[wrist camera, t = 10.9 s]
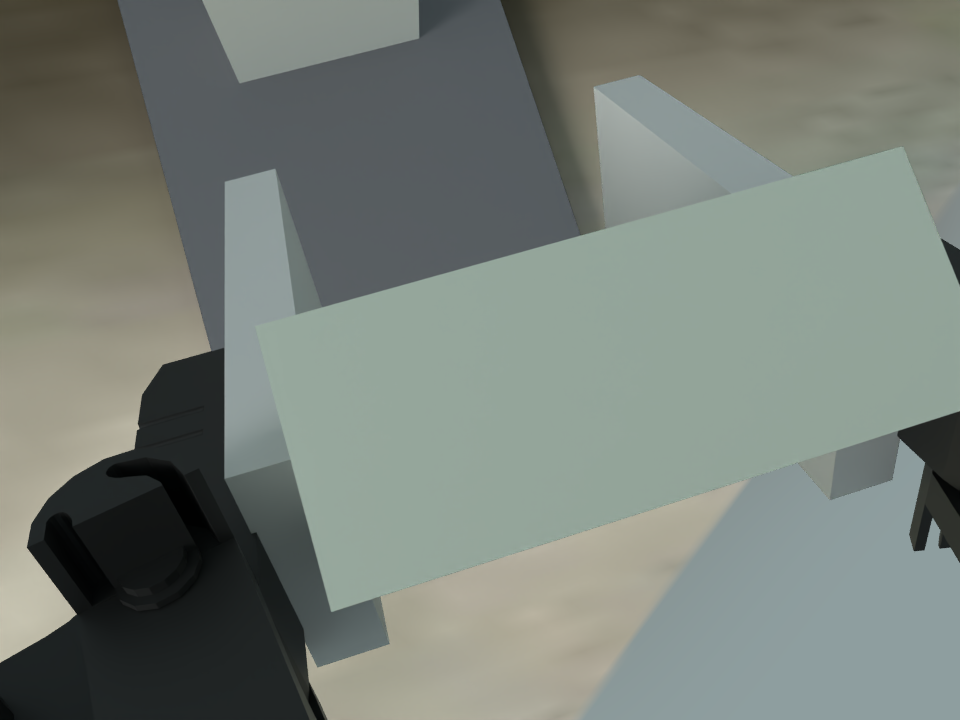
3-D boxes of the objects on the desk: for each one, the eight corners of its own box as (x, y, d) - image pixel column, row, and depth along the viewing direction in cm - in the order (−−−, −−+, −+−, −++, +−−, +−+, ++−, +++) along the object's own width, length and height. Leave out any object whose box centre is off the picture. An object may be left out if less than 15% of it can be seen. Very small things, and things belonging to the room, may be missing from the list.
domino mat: (255, 492, 21) (249, 491, 20) (37, -318, 24) (25, -346, 24) (621, 379, 22) (628, 375, 21) (362, -380, 25) (360, -408, 25)
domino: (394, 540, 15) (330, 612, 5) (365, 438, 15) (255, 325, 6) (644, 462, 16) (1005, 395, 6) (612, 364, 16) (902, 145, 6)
